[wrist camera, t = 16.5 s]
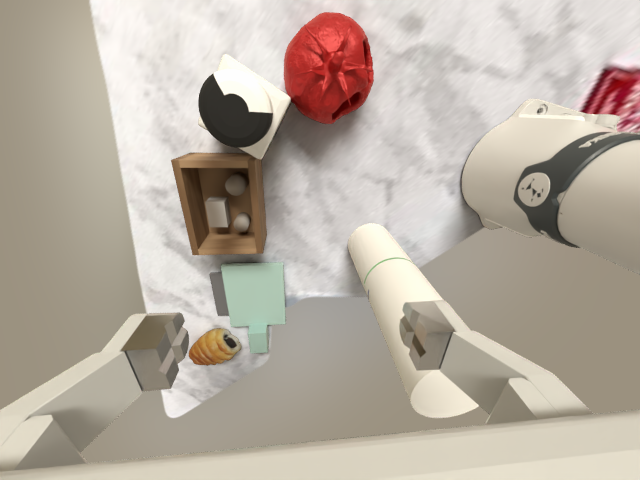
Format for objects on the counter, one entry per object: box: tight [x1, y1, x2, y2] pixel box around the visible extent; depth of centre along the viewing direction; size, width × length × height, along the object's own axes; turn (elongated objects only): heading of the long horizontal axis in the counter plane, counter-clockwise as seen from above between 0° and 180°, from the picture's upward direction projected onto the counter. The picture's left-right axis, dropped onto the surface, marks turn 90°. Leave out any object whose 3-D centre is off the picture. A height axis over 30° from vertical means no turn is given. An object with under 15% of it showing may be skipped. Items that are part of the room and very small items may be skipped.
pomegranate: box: [284, 12, 374, 124], centre depth 27 cm, size 10×10×9 cm
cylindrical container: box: [348, 223, 479, 418], centre depth 31 cm, size 7×7×25 cm
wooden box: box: [171, 153, 267, 255], centre depth 34 cm, size 9×12×6 cm
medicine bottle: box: [198, 54, 291, 159], centre depth 27 cm, size 7×7×12 cm
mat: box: [210, 272, 229, 316], centre depth 44 cm, size 10×9×1 cm
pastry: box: [189, 328, 241, 365], centre depth 47 cm, size 9×7×4 cm
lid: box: [221, 262, 286, 353], centre depth 43 cm, size 10×17×3 cm, turn 179°
